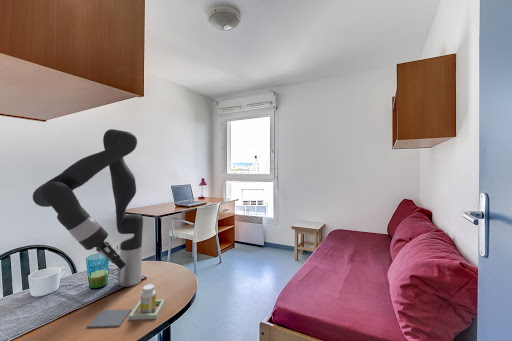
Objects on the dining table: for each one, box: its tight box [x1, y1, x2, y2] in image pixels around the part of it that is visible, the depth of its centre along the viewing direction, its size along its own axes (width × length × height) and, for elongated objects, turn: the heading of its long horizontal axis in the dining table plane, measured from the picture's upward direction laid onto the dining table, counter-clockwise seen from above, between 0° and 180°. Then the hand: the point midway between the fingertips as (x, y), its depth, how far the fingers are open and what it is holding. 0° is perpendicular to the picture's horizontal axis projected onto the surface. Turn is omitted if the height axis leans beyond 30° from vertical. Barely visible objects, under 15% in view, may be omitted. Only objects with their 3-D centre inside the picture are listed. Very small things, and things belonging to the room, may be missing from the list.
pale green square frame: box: [128, 298, 166, 321], centre depth 88 cm, size 10×10×2 cm
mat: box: [86, 308, 132, 329], centre depth 83 cm, size 11×9×1 cm
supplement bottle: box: [139, 283, 157, 314], centre depth 88 cm, size 5×5×10 cm
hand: (119, 264), depth 82 cm, fingers open, 8 cm apart
